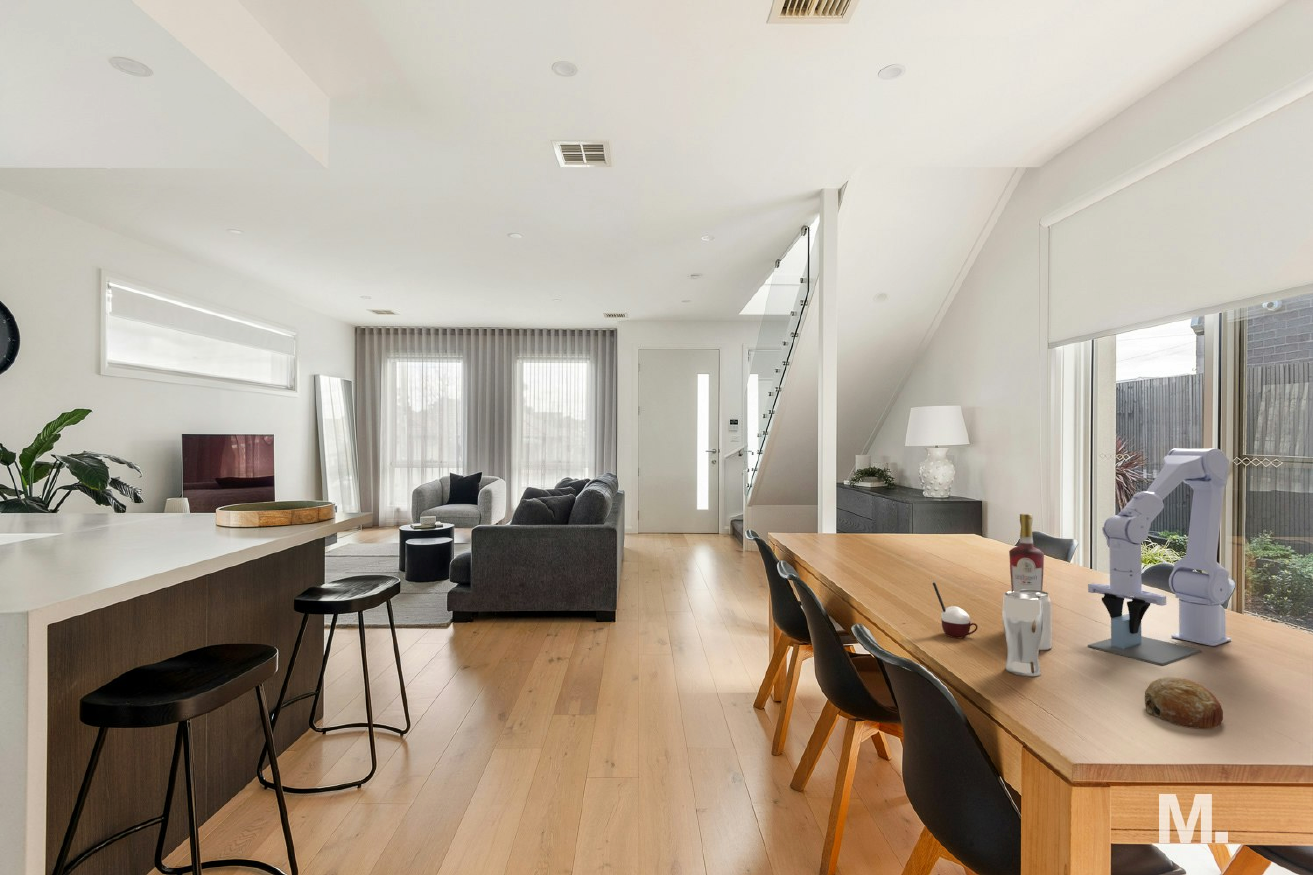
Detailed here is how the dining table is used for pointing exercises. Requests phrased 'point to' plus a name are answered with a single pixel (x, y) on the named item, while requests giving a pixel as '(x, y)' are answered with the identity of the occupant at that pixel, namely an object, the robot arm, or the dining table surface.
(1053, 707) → the dining table surface
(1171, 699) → the bread roll
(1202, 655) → the dining table surface
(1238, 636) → the dining table surface
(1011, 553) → the liquor
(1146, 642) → the mat
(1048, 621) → the can
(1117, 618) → the block
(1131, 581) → the robot arm
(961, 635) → the cocoa
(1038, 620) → the beer glass
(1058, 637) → the dining table surface
